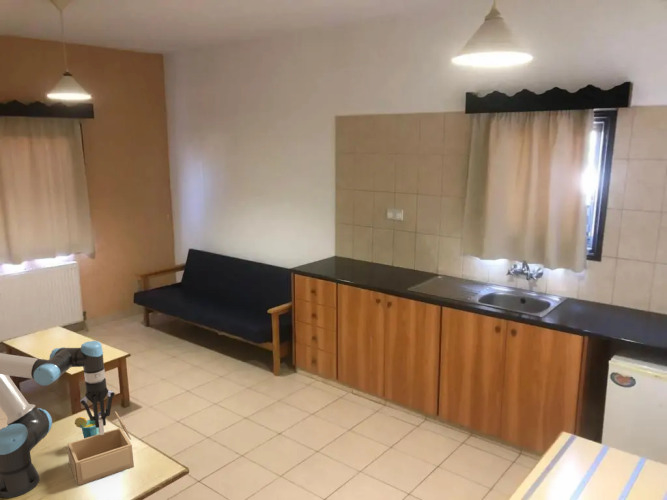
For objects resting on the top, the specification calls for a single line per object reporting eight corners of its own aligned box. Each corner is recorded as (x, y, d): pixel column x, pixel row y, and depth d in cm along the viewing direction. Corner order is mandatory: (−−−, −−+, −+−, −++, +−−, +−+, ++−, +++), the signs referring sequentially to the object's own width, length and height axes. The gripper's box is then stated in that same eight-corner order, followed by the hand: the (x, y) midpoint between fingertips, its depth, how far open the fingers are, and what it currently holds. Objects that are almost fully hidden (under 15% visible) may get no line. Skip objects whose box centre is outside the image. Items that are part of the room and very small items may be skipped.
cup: (111, 436, 244) (108, 406, 241) (112, 445, 237) (108, 414, 234) (77, 444, 239) (73, 413, 236) (77, 453, 232) (73, 421, 229)
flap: (123, 425, 217) (124, 424, 218) (114, 411, 229) (115, 411, 229) (130, 439, 220) (131, 439, 220) (121, 425, 231) (122, 425, 231)
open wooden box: (77, 487, 208) (74, 464, 206) (68, 465, 223) (66, 443, 221) (134, 467, 221) (132, 445, 219) (122, 447, 235) (120, 426, 233)
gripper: (79, 387, 208) (86, 442, 213) (114, 378, 216) (120, 432, 220) (75, 380, 214) (82, 434, 219) (110, 372, 222) (115, 424, 226)
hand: (101, 433), depth 220 cm, fingers closed
